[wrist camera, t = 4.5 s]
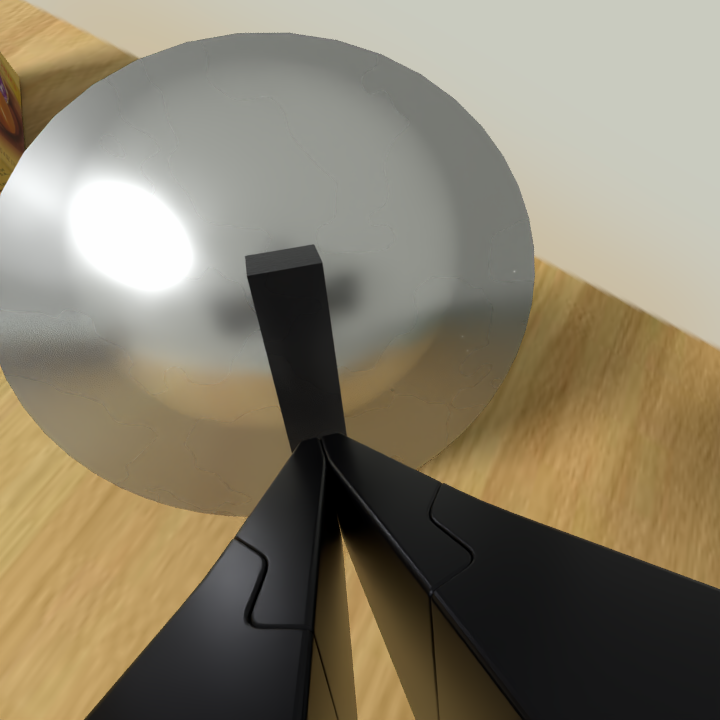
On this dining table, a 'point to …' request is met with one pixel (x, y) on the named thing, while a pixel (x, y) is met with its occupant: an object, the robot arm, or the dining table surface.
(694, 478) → the dining table surface
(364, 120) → the lid
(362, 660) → the dining table surface
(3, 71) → the candy box
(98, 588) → the dining table surface
